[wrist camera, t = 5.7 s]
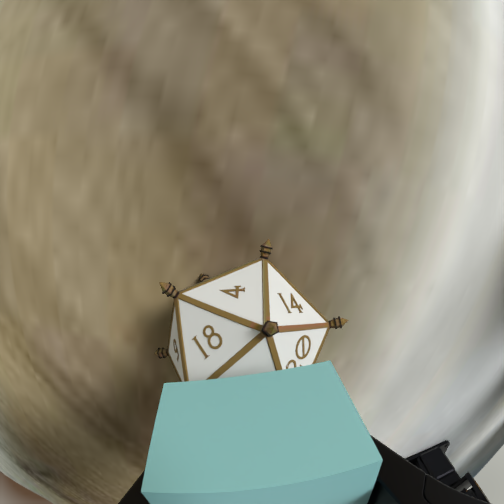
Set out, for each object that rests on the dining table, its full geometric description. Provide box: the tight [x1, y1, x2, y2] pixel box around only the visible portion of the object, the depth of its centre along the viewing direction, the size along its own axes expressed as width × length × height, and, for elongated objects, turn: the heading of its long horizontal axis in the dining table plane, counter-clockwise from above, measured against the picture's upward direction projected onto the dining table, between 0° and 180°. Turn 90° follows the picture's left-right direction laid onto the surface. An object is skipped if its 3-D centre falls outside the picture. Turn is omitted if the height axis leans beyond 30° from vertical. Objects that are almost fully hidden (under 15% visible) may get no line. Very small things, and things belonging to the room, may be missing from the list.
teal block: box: [141, 361, 383, 504], centre depth 7 cm, size 5×5×4 cm
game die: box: [154, 239, 348, 382], centre depth 14 cm, size 9×8×10 cm
